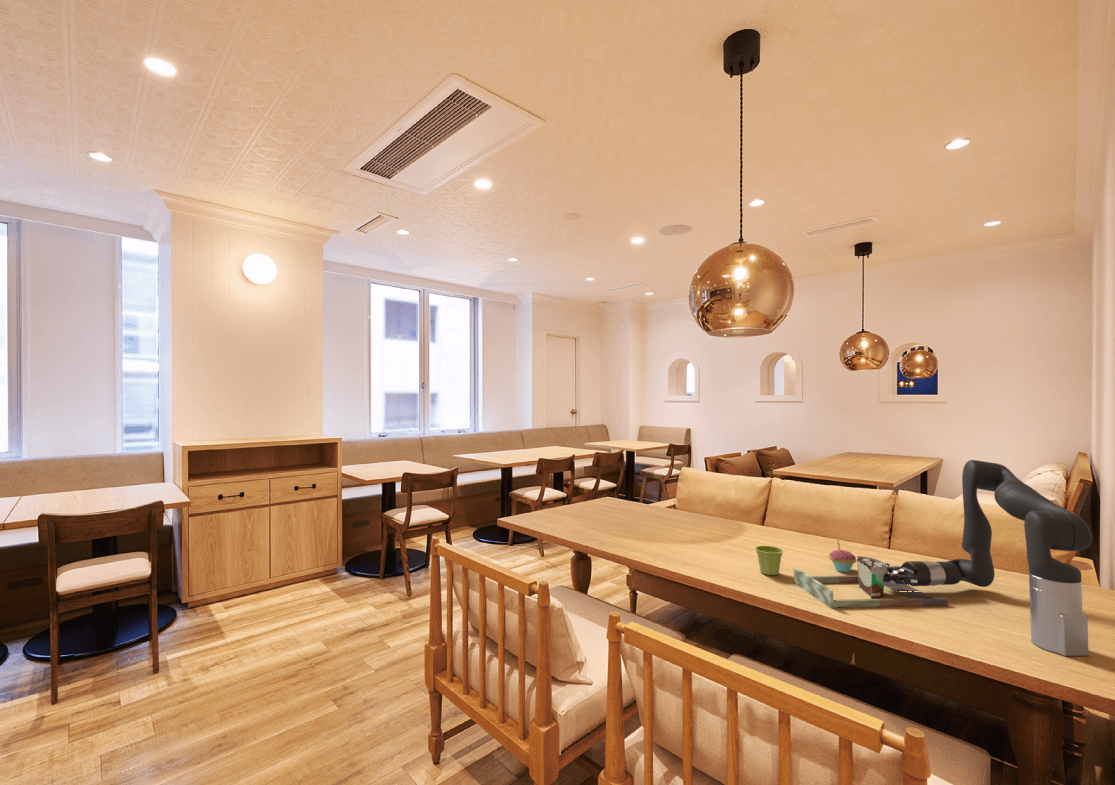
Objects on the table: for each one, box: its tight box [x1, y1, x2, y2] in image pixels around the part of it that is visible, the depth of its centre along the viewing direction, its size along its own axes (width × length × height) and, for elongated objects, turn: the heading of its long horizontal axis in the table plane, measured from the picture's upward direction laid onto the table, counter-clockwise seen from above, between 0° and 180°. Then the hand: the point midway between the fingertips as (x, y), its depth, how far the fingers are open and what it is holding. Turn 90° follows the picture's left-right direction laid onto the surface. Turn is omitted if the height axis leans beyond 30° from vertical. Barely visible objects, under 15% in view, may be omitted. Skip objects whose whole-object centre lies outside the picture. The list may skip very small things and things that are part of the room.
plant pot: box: [754, 545, 785, 576], centre depth 176 cm, size 9×9×9 cm
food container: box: [856, 555, 887, 599], centre depth 157 cm, size 12×6×10 cm, turn 168°
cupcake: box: [828, 537, 857, 573], centre depth 179 cm, size 9×8×12 cm
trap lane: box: [793, 567, 949, 609], centre depth 157 cm, size 21×36×5 cm, turn 92°
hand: (871, 574), depth 157 cm, fingers open, 4 cm apart
